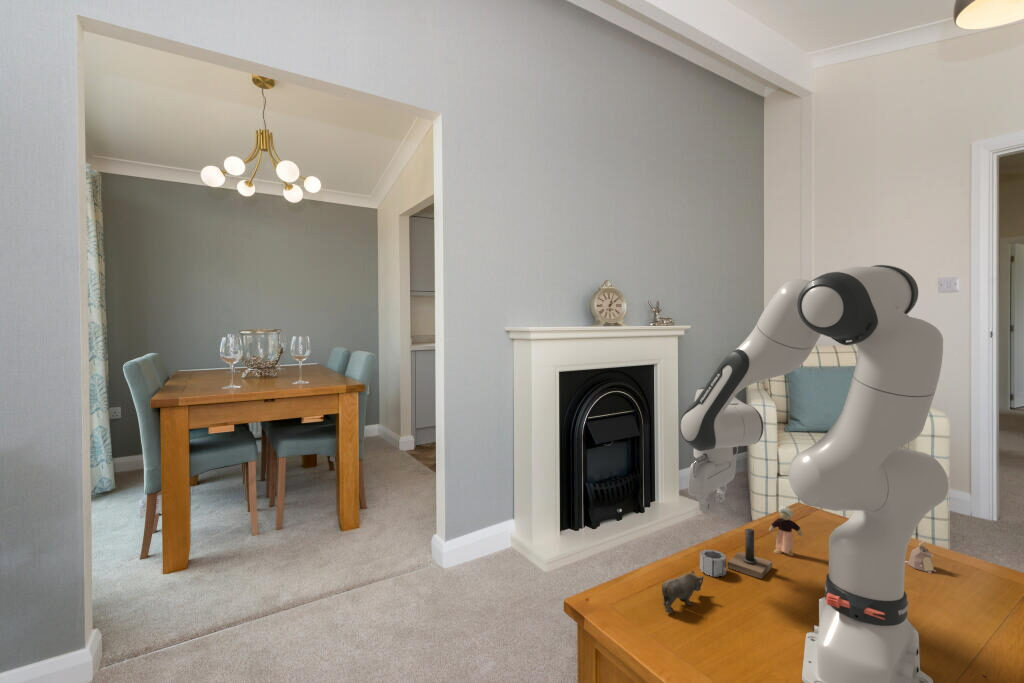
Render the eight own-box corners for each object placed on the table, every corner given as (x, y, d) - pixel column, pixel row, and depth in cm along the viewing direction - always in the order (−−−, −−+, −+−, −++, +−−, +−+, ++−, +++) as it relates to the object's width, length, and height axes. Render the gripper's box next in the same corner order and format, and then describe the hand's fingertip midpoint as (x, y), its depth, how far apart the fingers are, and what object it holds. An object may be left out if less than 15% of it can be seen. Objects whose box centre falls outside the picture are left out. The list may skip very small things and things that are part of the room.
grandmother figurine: (771, 554, 129) (771, 507, 128) (768, 548, 132) (768, 502, 132) (804, 558, 126) (804, 510, 126) (799, 551, 130) (799, 505, 130)
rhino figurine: (711, 596, 109) (711, 570, 109) (671, 616, 101) (671, 587, 101) (696, 588, 112) (696, 562, 112) (656, 606, 105) (655, 579, 105)
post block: (761, 579, 116) (761, 539, 116) (727, 567, 122) (727, 530, 121) (772, 567, 122) (772, 530, 121) (739, 557, 127) (739, 521, 127)
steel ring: (720, 579, 116) (720, 562, 116) (696, 571, 120) (696, 555, 120) (729, 570, 120) (729, 554, 120) (706, 563, 124) (706, 547, 124)
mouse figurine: (903, 557, 127) (903, 531, 126) (940, 571, 119) (940, 544, 119) (891, 560, 125) (891, 535, 125) (927, 575, 117) (927, 547, 117)
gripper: (707, 461, 110) (707, 521, 111) (740, 445, 125) (740, 498, 125) (681, 456, 115) (681, 513, 115) (716, 441, 129) (716, 492, 129)
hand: (712, 505), depth 120 cm, fingers open, 8 cm apart
